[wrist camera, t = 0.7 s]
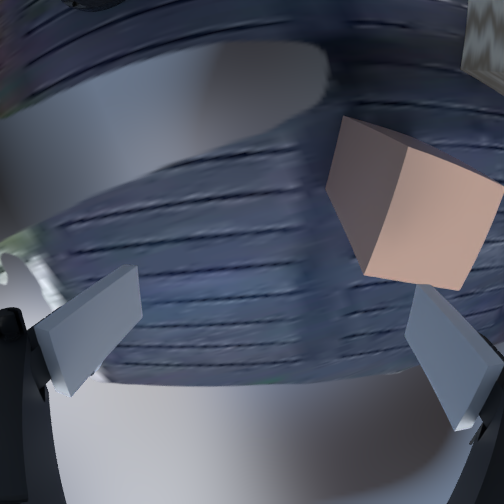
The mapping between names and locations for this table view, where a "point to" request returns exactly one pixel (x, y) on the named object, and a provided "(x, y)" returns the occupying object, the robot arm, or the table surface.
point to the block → (409, 206)
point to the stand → (485, 43)
